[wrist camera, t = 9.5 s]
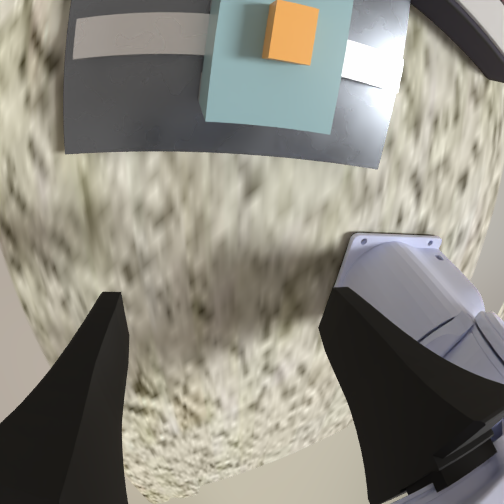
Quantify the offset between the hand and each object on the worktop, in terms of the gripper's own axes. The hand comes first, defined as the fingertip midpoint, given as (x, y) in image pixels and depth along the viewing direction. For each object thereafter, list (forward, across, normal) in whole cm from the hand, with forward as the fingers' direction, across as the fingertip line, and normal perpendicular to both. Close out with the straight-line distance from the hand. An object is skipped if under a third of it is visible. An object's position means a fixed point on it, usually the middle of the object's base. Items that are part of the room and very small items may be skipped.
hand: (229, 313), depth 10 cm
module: (+8, -1, -9) cm, 12 cm away
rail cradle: (+9, -1, -9) cm, 13 cm away
